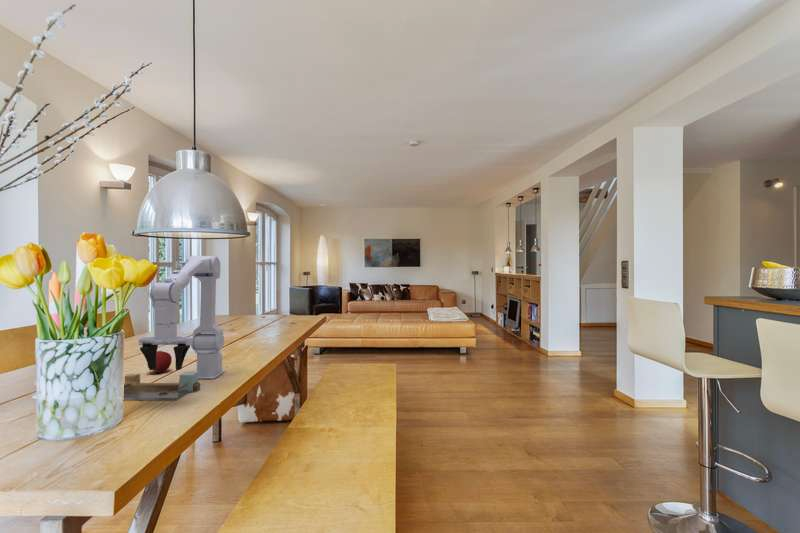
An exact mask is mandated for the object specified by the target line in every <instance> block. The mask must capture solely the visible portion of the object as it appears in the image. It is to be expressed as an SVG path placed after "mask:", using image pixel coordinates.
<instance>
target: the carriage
mask: <svg viewBox="0 0 800 533" xmlns="http://www.w3.org/2000/svg"><path fill="white" fill-rule="evenodd" d="M179 383H180V385H179V387H178V393H181V390H188V393H191V392H192V391H193V384H195V383H200V382H199V379H198V372H197V371H185V372H182V373H181V374H179ZM192 393H193V392H192Z"/></svg>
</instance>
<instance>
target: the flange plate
mask: <svg viewBox="0 0 800 533" xmlns="http://www.w3.org/2000/svg"><path fill="white" fill-rule="evenodd" d="M187 394H189V392H188V390H181V393H178V390H124V401H125V400H126V401H127V400H144V401H143V402H145V400H146V401H151V402H152V401H154V402H155V401H168V402H169V401H170V402H171V401H178V400H180V399H181V398H183V397H185V396H186V395H187ZM124 401H123V402H124ZM127 402H128V401H127Z"/></svg>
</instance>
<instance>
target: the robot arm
mask: <svg viewBox="0 0 800 533" xmlns="http://www.w3.org/2000/svg"><path fill="white" fill-rule="evenodd" d="M184 264H185V265H184V266H183V267H181V269H179V270H178V269H177V270H176V269H175V270H172V273H170V275H168V276H167V277H166V278H165V279H164V280H162V281H160V282H155V284H153V285H152V286H151V288H150V290H149V291H150V292H149V298H150V301H151V307H152V309H154V313H153V314H154V315H153V318H154V320H153V321H154V326H153V327H154V331H153V332H154V334H153V336H152V337H151V336H149V337H141V338H140V337H139V338H138V346H141V347H139V350H140V352H141V353H142V355H143V357H145V360H146V363H148V365H147V368H148V367H149V368H148V369H149V371H153V369H155V368H156V353H157V351H158V347H159V346H161V345H163V346H169V345H170V346H173V348H172V349H173V352H174V357H175V371H179V370H181V369H182V368H183V365H184V362H185V361H184V360H185V359H186V358H185V357H186V356H187V353H188V351H189V349H190V347H191V349H192V350H193V351H194V353H195V354H196V372H198V380H204V379H205V380H210V379H211V380H214V379H216V378H217V377H219V376H221V375H222V374H224V373H225V370H224V369H223V354H222V352H221V350H222V349H223V348H224V345H225V337H224V329H222V328H221V327H220V326H219V325H217V324H216V302H217V300H216V299H217V297H216V296H217V292H216V289H217V280H218V279H220V278H221V261H220V258H219V257H218V256H217V255H191V254H190V255H188V256H187V257H186V258H185V263H184ZM191 277H193V278H195V279H197V280H198V281H199V282H200V305H199V306H200V308H199V309H200V312H199V316H200V317H199V320H200V321H199V326H197V327H196V328H195V329H193V331H192V337H186V336H178V335H177V334H178V315H177V314H178V308H177V307H178V306H177V305H178V302H179V301H180V298H181V296H182V294H183V290H184V289H185V288H186V287H187V286H188V285H189V284H190V281H191V280H190V279H191Z"/></svg>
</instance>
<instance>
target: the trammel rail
mask: <svg viewBox="0 0 800 533" xmlns="http://www.w3.org/2000/svg"><path fill="white" fill-rule="evenodd" d="M123 384H124V390H178V387H179V385H180V382H141V373H129V374H127V375H125V376H124V383H123ZM200 390H201V382H199V383H195V384H193V391H192V393H193V392H198V391H200Z"/></svg>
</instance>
